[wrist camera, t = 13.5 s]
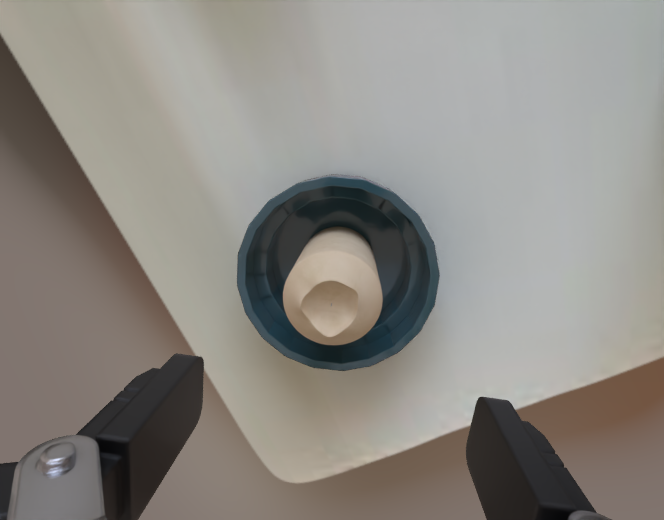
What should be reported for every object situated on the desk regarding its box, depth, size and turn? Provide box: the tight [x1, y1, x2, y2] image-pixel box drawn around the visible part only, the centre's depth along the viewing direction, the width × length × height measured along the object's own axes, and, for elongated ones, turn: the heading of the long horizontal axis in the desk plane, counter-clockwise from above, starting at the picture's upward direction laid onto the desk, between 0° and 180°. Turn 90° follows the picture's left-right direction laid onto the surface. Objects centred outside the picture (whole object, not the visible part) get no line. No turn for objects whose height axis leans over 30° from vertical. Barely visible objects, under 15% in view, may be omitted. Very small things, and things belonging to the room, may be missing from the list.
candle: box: [283, 227, 383, 345], centre depth 24 cm, size 6×6×10 cm
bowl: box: [237, 174, 440, 371], centre depth 28 cm, size 13×13×5 cm
